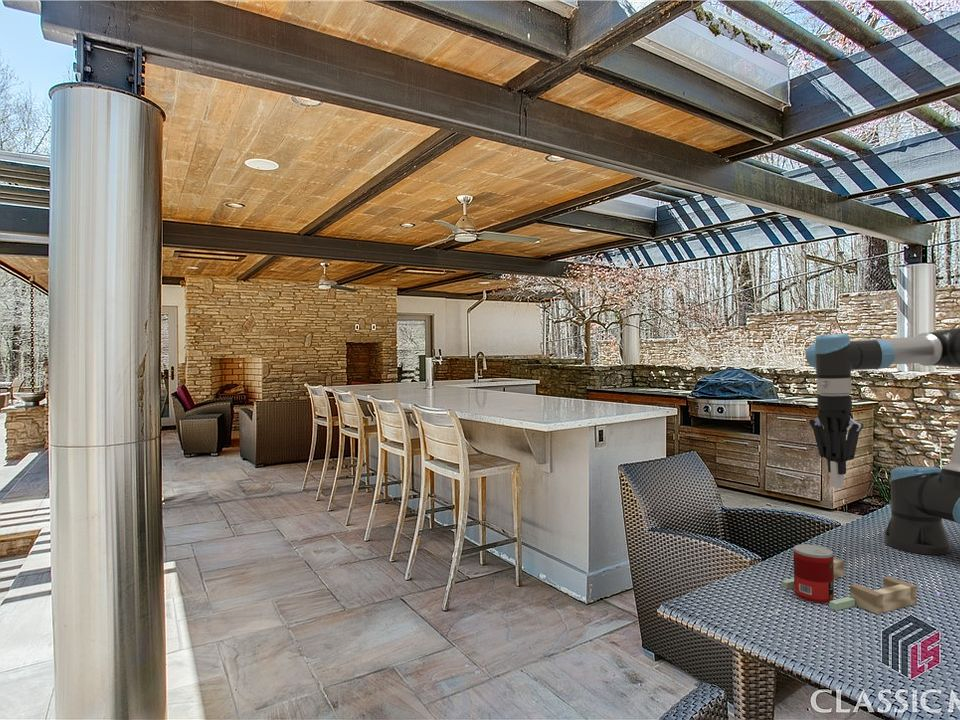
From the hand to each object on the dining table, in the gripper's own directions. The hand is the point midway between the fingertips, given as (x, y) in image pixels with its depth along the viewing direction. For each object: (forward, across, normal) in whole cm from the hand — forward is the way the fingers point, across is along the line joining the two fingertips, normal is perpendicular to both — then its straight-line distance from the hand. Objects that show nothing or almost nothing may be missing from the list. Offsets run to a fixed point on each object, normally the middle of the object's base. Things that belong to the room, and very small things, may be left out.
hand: (837, 486), depth 144 cm
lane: (+22, +9, -8) cm, 25 cm away
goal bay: (+22, +6, -18) cm, 29 cm away
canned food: (+22, +6, -19) cm, 30 cm away
